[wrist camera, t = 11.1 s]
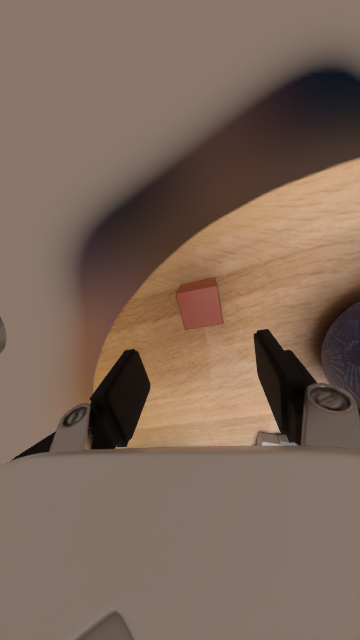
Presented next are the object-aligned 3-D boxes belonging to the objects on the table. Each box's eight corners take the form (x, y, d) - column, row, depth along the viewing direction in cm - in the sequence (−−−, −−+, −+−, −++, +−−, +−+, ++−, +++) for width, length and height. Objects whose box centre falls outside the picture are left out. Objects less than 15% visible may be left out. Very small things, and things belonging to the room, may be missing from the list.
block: (188, 315, 25) (184, 330, 21) (180, 284, 23) (175, 293, 19) (220, 310, 24) (223, 324, 20) (214, 277, 22) (217, 285, 18)
